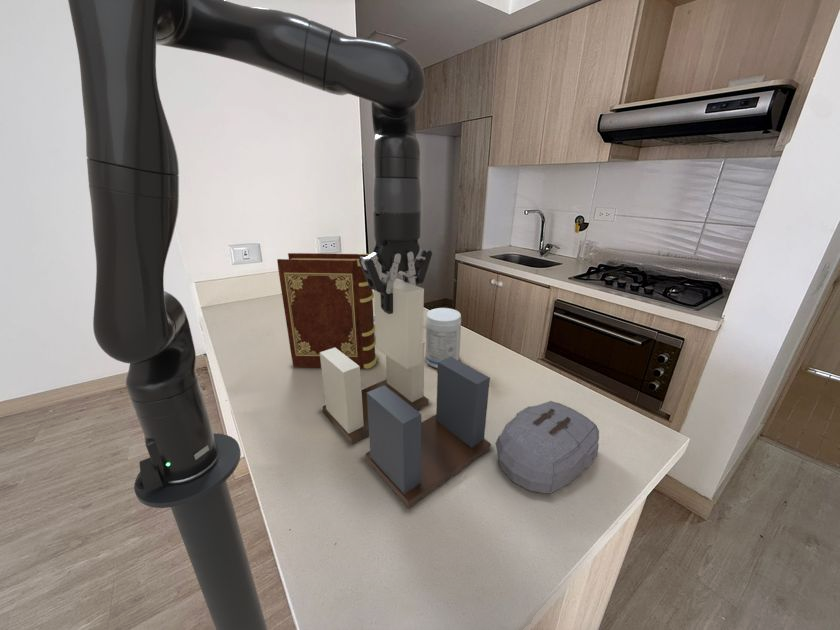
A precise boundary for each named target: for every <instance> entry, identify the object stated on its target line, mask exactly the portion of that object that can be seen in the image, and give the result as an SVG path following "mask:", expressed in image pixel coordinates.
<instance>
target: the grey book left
mask: <svg viewBox="0 0 840 630" xmlns="http://www.w3.org/2000/svg"><path fill="white" fill-rule="evenodd" d="M367 407H368V424H369V436H368V438H369V440H368V441H369V451H370V457H371V459H372V460H373V461H374V462H375V463H376V464H377V465H378V466H379V468H380V469H381V470H382V471H383V472H384V473H385V474H386V475H387V476H388V477H389V479H390V480H391V481H392V482H393V483H394V484H395V485H396V486H397V487H398V488H399V489H400V491H401V492H402V493H403V494H406V493H407V492H408V491H410V490H411V489H413V488H414V487H416V486H417V485H419V484H420V483H421V423H422V413H421V412H419V410H416V409H414V408H413V407H412V406H410V405H409V404H408V403H407V402H405V401H404V400H403V399H401V398H400V397H399V396H397V395H396V394H395V393H394V392H392V391H391V390H390V389H388V388H387V387H386V386H385V385H383V386H381V387H378V388H376V389H374V390H371V391H369V392H367Z"/></svg>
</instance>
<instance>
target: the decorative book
mask: <svg viewBox="0 0 840 630" xmlns="http://www.w3.org/2000/svg"><path fill="white" fill-rule="evenodd" d="M369 255H370V254H369V253H321V252H319V253H318V252H317V253H314V252H313V253H311V252H310V253H309V252H288V253H287V257H288V258H287V259H286V258H277V260H276V262H277V270H278V275H279V276H278V277H279V283H280V291H281V297H282V303H283V309H284V317H285V323H286V331H287V337H288V343H289V349H290V356H291V362H292V366H293V367H294V368H320V369H321V360H320V352H322V351H325V350H329V349H332V348H337V349H338V350H339V351H341V352H342V353H343V354H344V355H346V356H347V357H348V358H350V359H351V360H352V361H353V362H355V363H356V364H357V365H359V366H360V369H361V368H363V369H366V370H368V369H371V368H373V367H374V366H375V365H376V363H377V359H378V358H377V353H376V336H374V331H375V324H374V319H373V316H374V304H373V303H374V300H373V299H374V290H373V289H371V288H370V287H369V285H368V282H367V280H366V277H365V275H364V273H363V270H362V268H361V265H360V263H359V258H360V257H367V256H369Z"/></svg>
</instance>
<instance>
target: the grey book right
mask: <svg viewBox="0 0 840 630" xmlns="http://www.w3.org/2000/svg"><path fill="white" fill-rule="evenodd" d="M436 378H437V379H436V410H435V412H436V413H435V415H436V421H437V422H439V423H440V424H441V425H443V426H444V427H445V428H447V429H448V430H449V431H451V432H452V433H453V434H454V435H456V436H457V437H458V438H460V439H461V440H462V441H464V442H465V443H466V444H468V445H469V446H470V447H474V446H475V445H477V444H478V443H479V442H481V441H482V440H484V439H485V434H486V433H485V432H486V422H487V415H488V414H487V413H488V404H489V403H488V402H489V393H490V382H491V377H490V376H489V375H486V374H485V373H482V372H480V371H479V370H477V369H476V368H473V367H471V366H469V365H468V364H466V363H464V362H463V361H460V360H459V361H458V360H456V359H455V358H453V357H448V358H446V359H444V360H441V361H439V362H438V368H437V377H436Z"/></svg>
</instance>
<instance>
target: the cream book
mask: <svg viewBox="0 0 840 630" xmlns="http://www.w3.org/2000/svg"><path fill="white" fill-rule="evenodd" d="M373 292H374V298H373V299H374V300H373V303H374V315H375V333H376V336H375V338H376V344H375V349H376V350H378V351H379V352H381V353H382V354H384V355H385V356H386V355H387V356H388V357H390V358H391V359H393V360H394V361H396V362H397V363H399V364H400V365H401V366H403V367H404V368H406V369H409V368H411V367H414V366H416V365H419V364H421V363H422V352H423V342H424V309H425V308H424V307H425V306H424V305H425V304H424V303H425V288H424V287H420V286H417V285H416V286H415V285H413V284H410V283H407V282H405V281H402V279H400V278H397V277H396V280H395V281H394V284H393V289H392V293H393V313H392V314H388V313H386V312H384V311H383V310H382V308H381V295H380V292H377V291H376V290H373Z"/></svg>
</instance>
